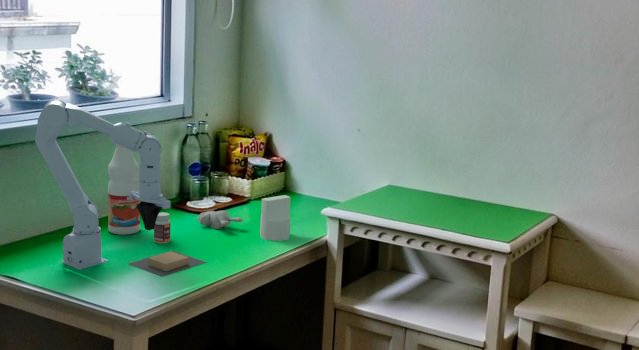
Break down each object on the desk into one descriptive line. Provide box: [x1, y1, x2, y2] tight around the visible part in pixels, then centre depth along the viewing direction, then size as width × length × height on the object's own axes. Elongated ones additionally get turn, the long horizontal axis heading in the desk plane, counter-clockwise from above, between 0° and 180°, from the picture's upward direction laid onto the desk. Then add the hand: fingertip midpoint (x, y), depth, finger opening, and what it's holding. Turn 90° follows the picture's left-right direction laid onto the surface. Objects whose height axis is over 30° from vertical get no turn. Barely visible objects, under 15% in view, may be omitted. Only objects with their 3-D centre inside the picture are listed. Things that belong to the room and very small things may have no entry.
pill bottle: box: [153, 211, 171, 244], centre depth 243 cm, size 5×5×8 cm
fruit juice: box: [107, 143, 141, 236], centre depth 250 cm, size 9×9×28 cm
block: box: [147, 250, 189, 271], centre depth 223 cm, size 8×2×7 cm
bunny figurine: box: [197, 210, 244, 230], centre depth 261 cm, size 10×5×15 cm
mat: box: [127, 250, 208, 278], centre depth 225 cm, size 16×14×1 cm
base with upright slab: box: [259, 194, 291, 242], centre depth 253 cm, size 9×9×12 cm
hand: (149, 229), depth 226 cm, fingers closed
